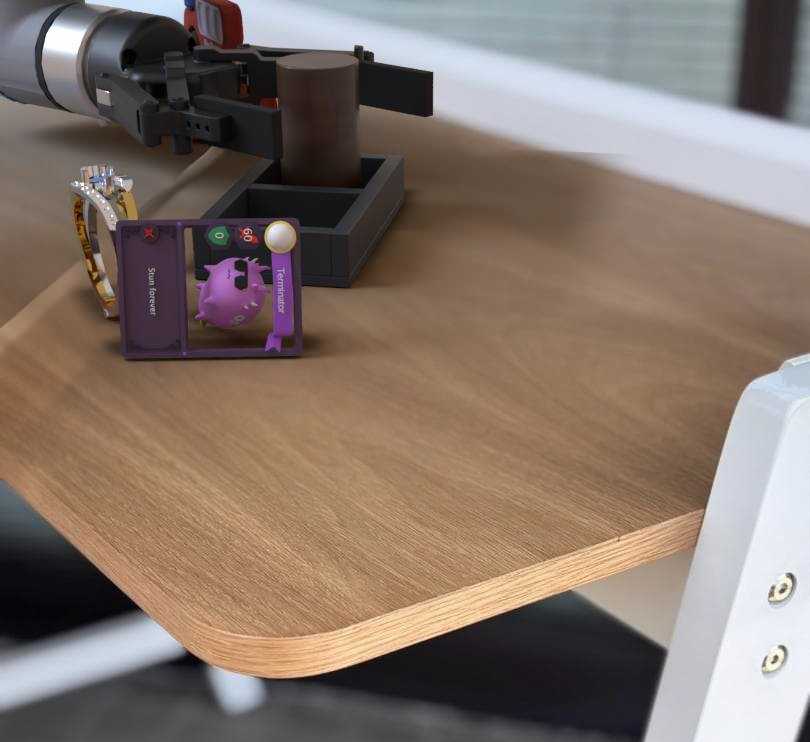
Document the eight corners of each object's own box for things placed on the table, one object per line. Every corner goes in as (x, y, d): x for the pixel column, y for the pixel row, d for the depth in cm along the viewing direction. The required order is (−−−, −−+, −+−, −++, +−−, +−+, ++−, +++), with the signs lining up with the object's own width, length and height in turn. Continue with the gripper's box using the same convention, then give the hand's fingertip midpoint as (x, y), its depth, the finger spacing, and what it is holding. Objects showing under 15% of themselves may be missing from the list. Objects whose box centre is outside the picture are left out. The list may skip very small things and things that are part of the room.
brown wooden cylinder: (324, 223, 92) (319, 72, 87) (266, 208, 95) (258, 61, 90) (377, 205, 95) (375, 59, 91) (320, 191, 98) (315, 48, 94)
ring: (68, 300, 82) (51, 154, 78) (125, 291, 83) (111, 147, 80) (100, 342, 77) (83, 188, 73) (160, 333, 78) (147, 180, 74)
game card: (112, 219, 73) (298, 217, 73) (128, 224, 78) (302, 222, 78) (119, 359, 74) (302, 356, 74) (134, 354, 79) (305, 351, 79)
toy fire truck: (240, 110, 122) (232, -26, 117) (286, 145, 111) (280, -1, 106) (156, 118, 119) (144, -20, 114) (195, 155, 109) (184, 5, 104)
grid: (194, 279, 85) (190, 226, 84) (271, 196, 100) (269, 149, 98) (349, 288, 84) (348, 234, 82) (404, 202, 98) (403, 155, 97)
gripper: (259, 93, 112) (483, 137, 100) (-20, 159, 96) (209, 222, 83) (253, -13, 109) (485, 20, 97) (-37, 37, 92) (199, 84, 80)
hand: (358, 114), depth 90 cm, fingers open, 13 cm apart
